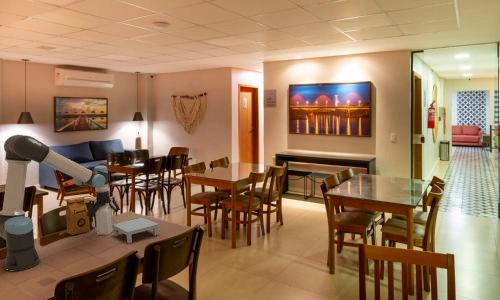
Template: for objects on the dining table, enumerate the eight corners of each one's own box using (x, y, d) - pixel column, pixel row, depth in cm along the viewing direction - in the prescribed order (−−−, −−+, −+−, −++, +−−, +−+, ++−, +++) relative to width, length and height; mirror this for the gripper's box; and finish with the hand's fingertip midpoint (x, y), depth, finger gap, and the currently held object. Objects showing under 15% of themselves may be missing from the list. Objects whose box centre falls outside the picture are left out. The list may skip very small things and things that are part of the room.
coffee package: (92, 231, 231) (89, 197, 228) (71, 237, 222) (68, 201, 219) (85, 228, 238) (83, 195, 235) (65, 233, 229) (63, 199, 226)
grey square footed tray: (128, 243, 209) (127, 232, 208) (112, 235, 223) (112, 224, 222) (159, 235, 223) (158, 224, 222) (142, 228, 237) (142, 217, 236)
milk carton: (108, 234, 225) (106, 204, 223) (96, 234, 225) (94, 204, 223) (112, 231, 232) (111, 201, 230) (101, 231, 232) (99, 201, 230)
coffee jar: (110, 221, 251) (108, 196, 249) (102, 226, 241) (100, 200, 239) (95, 221, 252) (93, 196, 250) (87, 226, 242) (85, 199, 240)
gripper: (83, 195, 214) (86, 230, 216) (124, 188, 231) (126, 220, 234) (79, 193, 219) (81, 227, 222) (118, 186, 237) (120, 218, 239)
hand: (104, 224), depth 228 cm, fingers open, 13 cm apart
